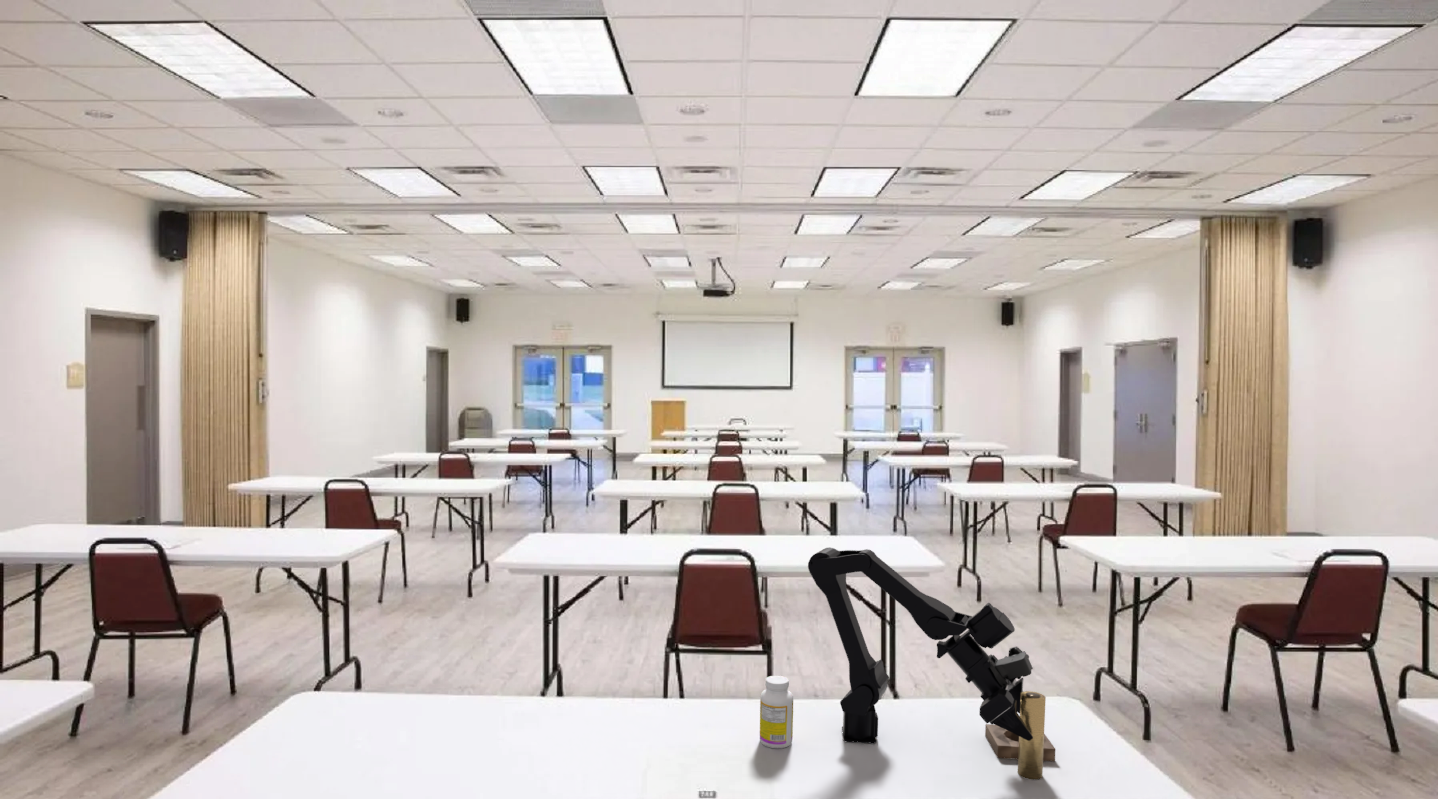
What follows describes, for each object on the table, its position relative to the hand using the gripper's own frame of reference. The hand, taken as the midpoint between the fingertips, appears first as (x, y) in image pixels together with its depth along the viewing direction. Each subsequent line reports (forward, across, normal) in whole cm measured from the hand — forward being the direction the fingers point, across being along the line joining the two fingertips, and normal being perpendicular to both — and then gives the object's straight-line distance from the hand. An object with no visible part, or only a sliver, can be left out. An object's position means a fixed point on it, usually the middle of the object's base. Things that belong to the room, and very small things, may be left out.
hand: (1033, 729), depth 156 cm
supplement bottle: (-28, -11, +40) cm, 50 cm away
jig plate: (+4, +11, +8) cm, 14 cm away
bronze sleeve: (+6, 0, +6) cm, 9 cm away
